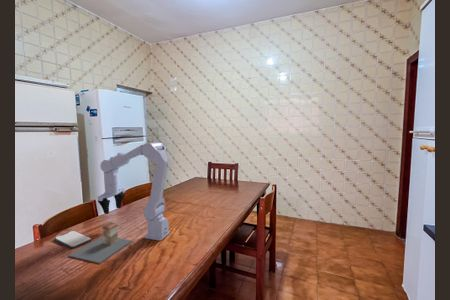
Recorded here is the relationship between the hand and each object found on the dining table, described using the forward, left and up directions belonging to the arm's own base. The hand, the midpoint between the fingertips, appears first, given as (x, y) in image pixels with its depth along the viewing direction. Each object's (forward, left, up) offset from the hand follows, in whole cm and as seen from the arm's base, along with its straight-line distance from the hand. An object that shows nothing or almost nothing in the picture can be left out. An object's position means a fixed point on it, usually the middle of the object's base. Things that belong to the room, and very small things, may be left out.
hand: (112, 210), depth 107 cm
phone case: (+10, +14, -11) cm, 20 cm away
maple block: (-9, +11, -10) cm, 17 cm away
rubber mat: (-9, +15, -10) cm, 20 cm away
